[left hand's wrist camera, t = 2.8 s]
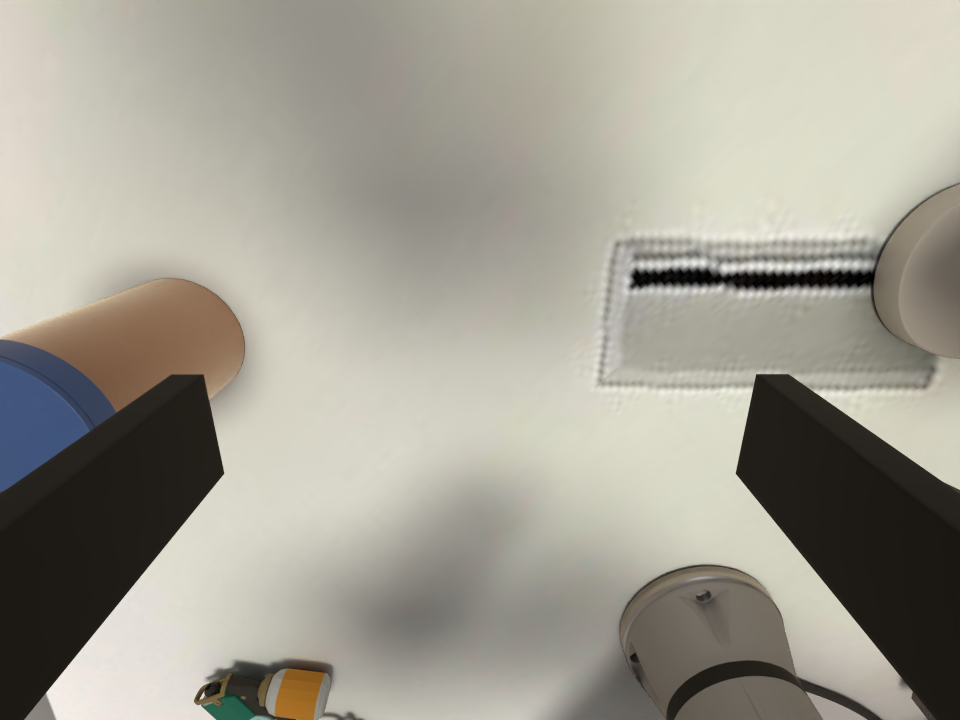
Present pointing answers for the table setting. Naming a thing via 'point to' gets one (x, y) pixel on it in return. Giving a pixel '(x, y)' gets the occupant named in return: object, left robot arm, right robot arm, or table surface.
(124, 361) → the jar
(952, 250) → the bust sculpture
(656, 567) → the table surface
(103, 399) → the lid
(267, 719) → the spray gun
